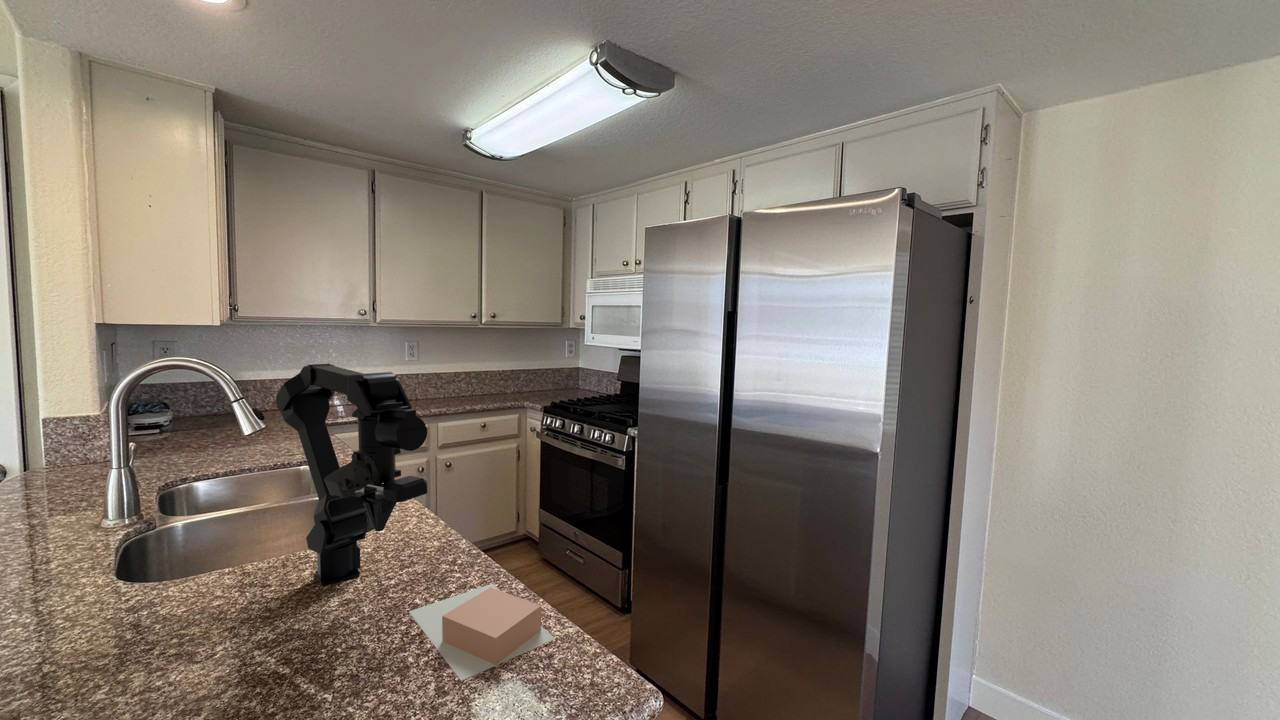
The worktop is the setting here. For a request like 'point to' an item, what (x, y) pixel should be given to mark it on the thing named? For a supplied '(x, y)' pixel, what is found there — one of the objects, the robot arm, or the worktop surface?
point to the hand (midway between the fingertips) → (379, 530)
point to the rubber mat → (455, 657)
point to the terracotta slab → (491, 625)
